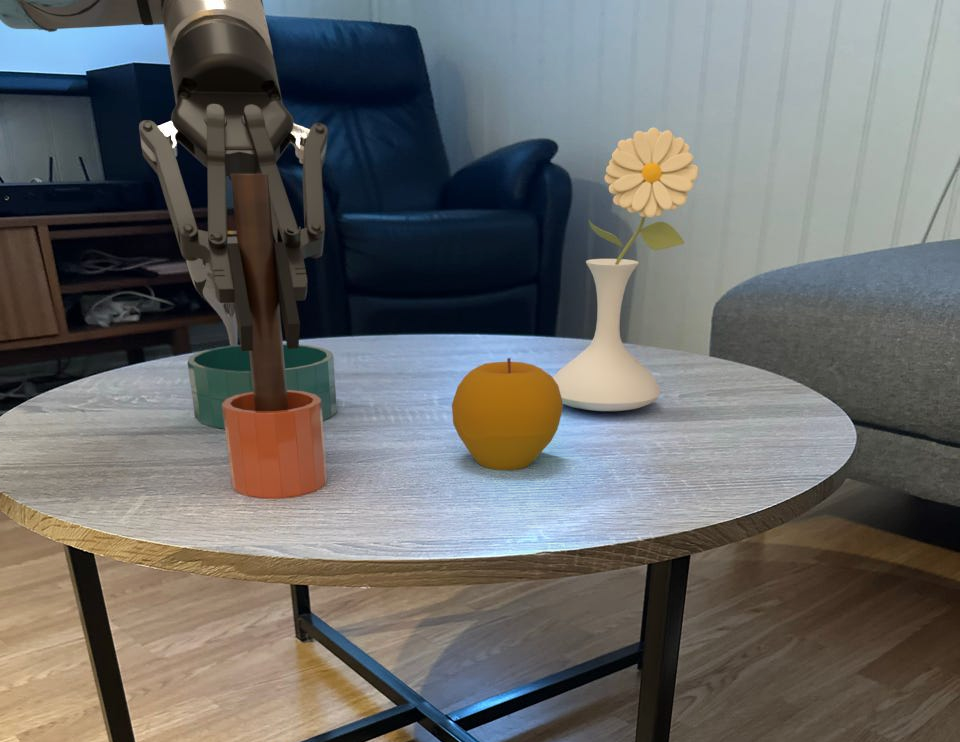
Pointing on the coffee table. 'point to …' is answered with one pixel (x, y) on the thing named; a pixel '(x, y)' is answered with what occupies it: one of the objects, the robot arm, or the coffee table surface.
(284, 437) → the crock
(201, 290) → the wine glass
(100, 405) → the coffee table surface
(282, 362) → the stick
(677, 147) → the flower in vase
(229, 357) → the bowl
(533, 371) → the apple
